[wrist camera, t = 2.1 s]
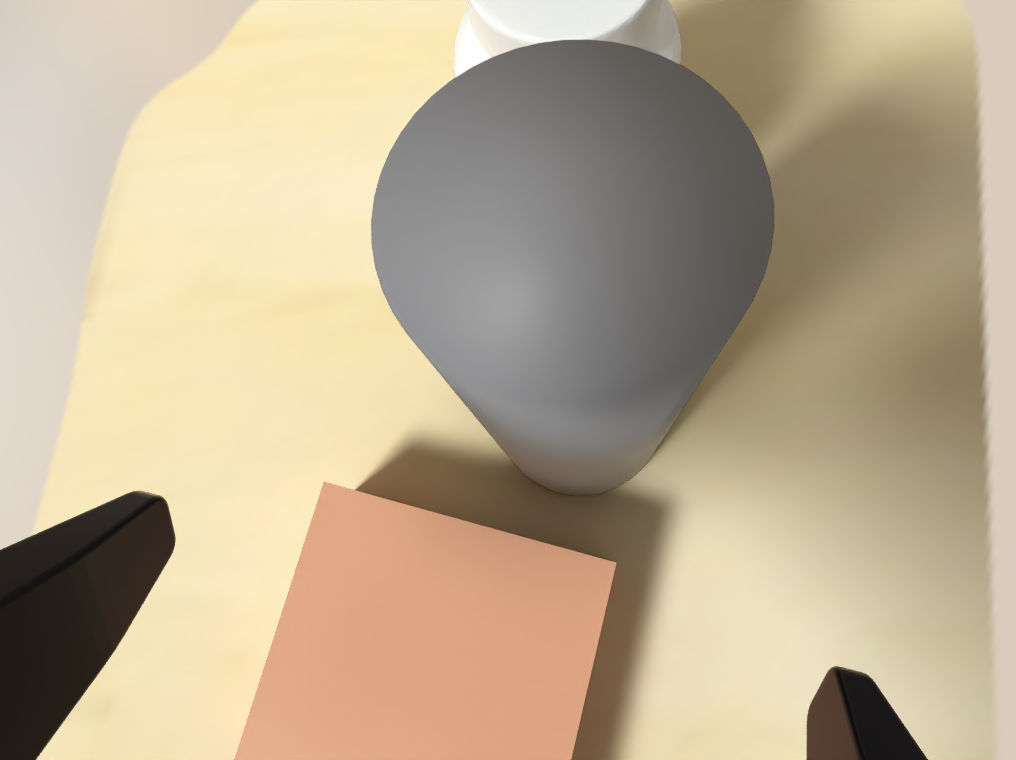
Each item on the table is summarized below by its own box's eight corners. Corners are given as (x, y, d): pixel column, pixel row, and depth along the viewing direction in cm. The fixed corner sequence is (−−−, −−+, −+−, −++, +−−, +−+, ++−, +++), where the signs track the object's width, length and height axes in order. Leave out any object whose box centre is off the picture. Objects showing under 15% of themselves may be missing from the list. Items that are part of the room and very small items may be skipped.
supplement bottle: (464, 164, 24) (384, -83, 15) (606, 93, 24) (618, -198, 15) (534, 298, 22) (496, 118, 13) (686, 223, 22) (755, -9, 13)
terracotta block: (543, 857, 19) (535, 912, 16) (274, 762, 20) (222, 798, 17) (612, 561, 21) (616, 562, 18) (358, 491, 22) (324, 481, 19)
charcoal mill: (642, 515, 20) (727, 455, 8) (477, 471, 21) (319, 354, 9) (679, 353, 22) (808, 72, 9) (521, 317, 22) (434, 13, 10)
